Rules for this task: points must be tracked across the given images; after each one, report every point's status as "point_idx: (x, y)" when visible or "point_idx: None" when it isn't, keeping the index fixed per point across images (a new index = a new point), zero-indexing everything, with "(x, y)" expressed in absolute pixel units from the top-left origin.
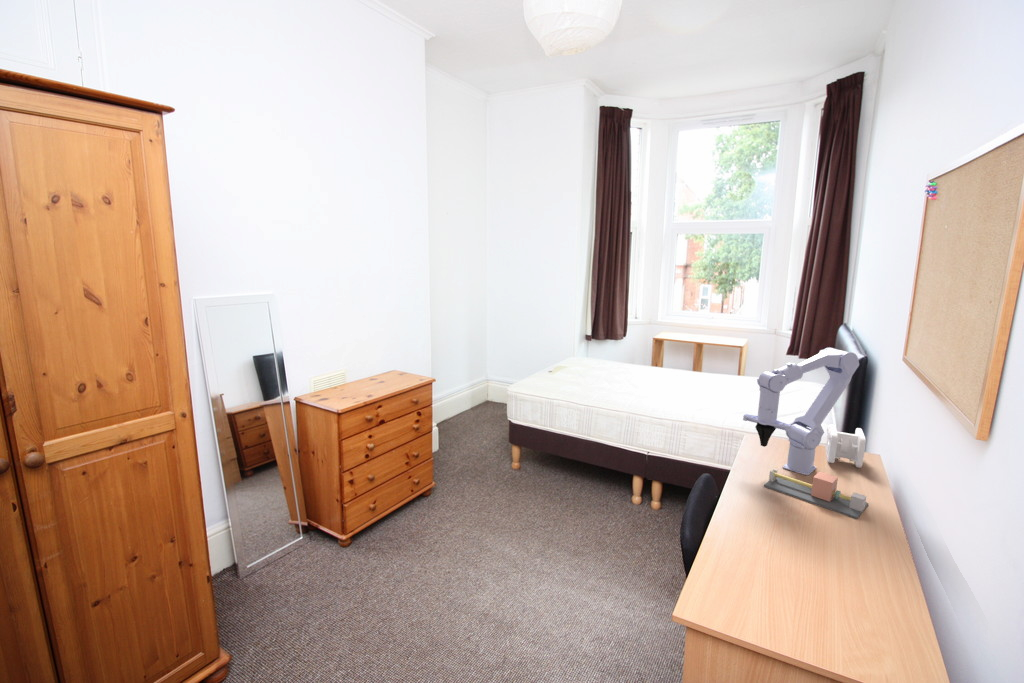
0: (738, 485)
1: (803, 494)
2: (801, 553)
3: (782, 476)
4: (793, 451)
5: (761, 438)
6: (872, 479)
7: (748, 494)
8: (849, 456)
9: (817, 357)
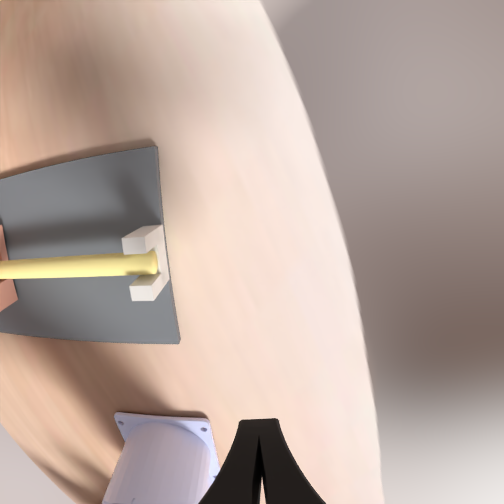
0: (252, 47)
1: (19, 214)
2: None
3: (93, 258)
4: (158, 489)
5: (276, 470)
6: (50, 471)
7: (173, 8)
8: None
9: None
